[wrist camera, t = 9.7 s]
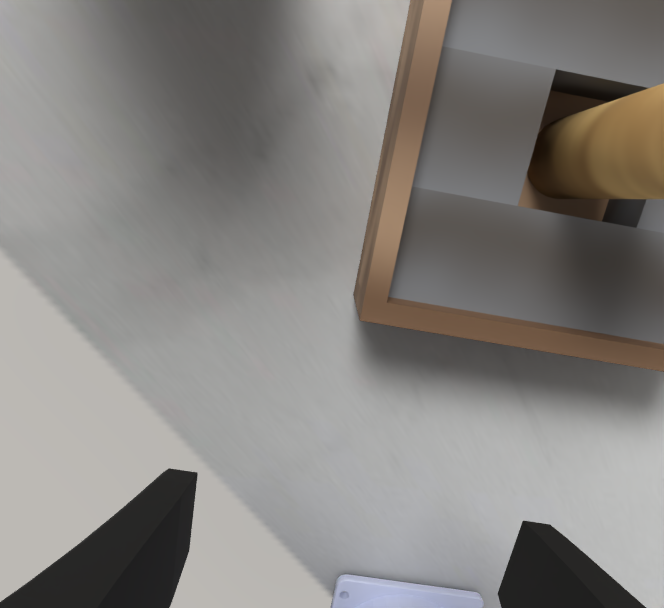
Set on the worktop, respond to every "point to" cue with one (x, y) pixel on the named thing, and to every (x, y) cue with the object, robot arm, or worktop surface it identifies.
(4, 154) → the worktop surface
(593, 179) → the peg
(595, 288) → the tray
